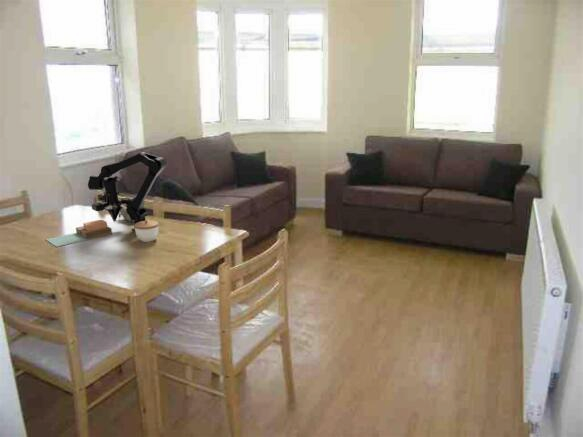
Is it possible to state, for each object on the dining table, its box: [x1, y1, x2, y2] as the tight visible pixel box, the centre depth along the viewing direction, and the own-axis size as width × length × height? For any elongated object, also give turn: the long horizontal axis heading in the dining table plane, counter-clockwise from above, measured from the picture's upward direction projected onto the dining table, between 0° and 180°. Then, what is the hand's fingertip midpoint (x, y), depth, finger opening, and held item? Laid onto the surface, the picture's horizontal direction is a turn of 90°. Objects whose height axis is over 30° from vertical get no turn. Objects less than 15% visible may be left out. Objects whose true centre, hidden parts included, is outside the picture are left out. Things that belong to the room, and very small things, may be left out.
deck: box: [75, 225, 113, 241], centre depth 260 cm, size 13×12×3 cm
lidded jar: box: [133, 219, 160, 243], centre depth 250 cm, size 11×11×9 cm
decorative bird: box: [117, 204, 134, 222], centre depth 282 cm, size 5×16×7 cm, turn 45°
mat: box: [45, 232, 88, 248], centre depth 252 cm, size 14×14×1 cm
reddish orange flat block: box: [83, 219, 108, 231], centre depth 260 cm, size 6×9×2 cm, turn 132°
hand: (114, 221), depth 267 cm, fingers closed
